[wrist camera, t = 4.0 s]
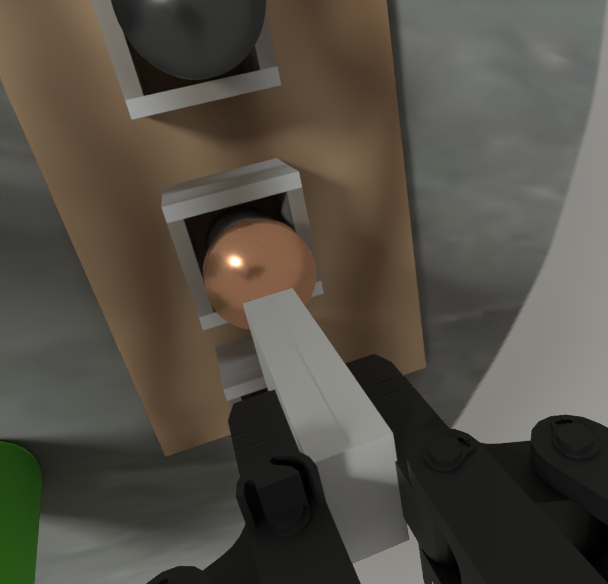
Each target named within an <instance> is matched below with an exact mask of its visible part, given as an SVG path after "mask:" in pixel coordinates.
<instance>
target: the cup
mask: <svg viewBox="0 0 608 584" xmlns="http://www.w3.org/2000/svg"><path fill="white" fill-rule="evenodd" d="M41 492H42V471H41V469H40V466H39V464H38V462H37V460H36V458H35V457H34V456H33V455H32V453H30V452H29V451H27V450H26V449H25V448H23V447H21V446H18V445H16V444H13V443H9V442H4V441H0V584H34V582H35V570H36V557H37V544H38V531H39V518H40V505H41Z"/></svg>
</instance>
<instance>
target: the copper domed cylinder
mask: <svg viewBox="0 0 608 584" xmlns="http://www.w3.org/2000/svg"><path fill="white" fill-rule="evenodd" d="M206 251H207V253H206V256H205V259H204V264H203V279H204V284H205V289H206V293H207V296H208V299H209V301H210V303H211V305H212V307H213V308H214V310H215V311H216V312H217V313H218V314H219V315H220V316H221V317H222V318H223V319H225V320H226V321H227V322H229V323H231V324H233V325H235V326H237V327H240V328H244V329H250V328H249V324H248V321H247V317H246V314H245V310H244V307H243V303H246V302H249V301H252V300H255V299H259V298H262V297H265V296H268V295H272V294H275V293H278V292H281V291H285V290H288V289H291V288H293V289H294V291H295V292H296V294H297V295H298V297H299V298H300V300H301V301H302V302H303V304H304V305H305V306H306V304H307V303H308V301H309V299H310V298H311V296H312V293H313V291H314V287H315V284H316V264H315V260H314V257H313V254H312V252H311V250H310V249H309V247H308V245H307V244H306V243H305V242H304V241H303V239H302V238H301V237H300V236H299V235H298V234H297V233H296V232H295V231H294V230H293V229H292V228H290V227H289V226H287V225H286V224H284V223H282V222H279V221H276V220H273V219H272V218H271V217H270V216H269V215H268V214H267V213H265V212H264V211H262V210H260V209H258V208H255V207H250V206H237V207H233V208H230V209H228V210H226V211H224V212H222V213H221V214H219V215H218V216H217V217H216V218H215V219H214V220H213V222H212V223H211V225H210V227H209V229H208V231H207V235H206Z"/></svg>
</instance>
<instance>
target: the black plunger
mask: <svg viewBox="0 0 608 584" xmlns="http://www.w3.org/2000/svg"><path fill="white" fill-rule="evenodd" d="M111 3H112V7H113V10H114V13H115V15H116V18H117V21H118V23H119V25H120V27H121V29H122V30H123V32H124V34H125V35H126V37H127V38H128V40H129V41H130V43H131V44H132V46H133V47H134V48H135V49H136V50H137V51H138V53H139V54H140V55H141V56H142V57H143V58H145V59H146V60H147V61H148V62H149V63H151V64H152V65H153V66H155V67H156V68H158V69H160V70H161V71H163V72H165V73H168V74H170V75H172V76H176V77H179V78H184V79H191V80H201V79H207V78H212V77H215V76H219V75H222V74H224V73H226V72H228V71H230V70H231V69H233V68H234V67H236V66H237V65H239V64H240V63H241V62H242V61H243V60H244V59H245V58H246V57H247V56H248V54H249V53H250V52H251V50H252V49H253V47H254V46H255V44H256V42H257V40H258V38H259V36H260V33H261V30H262V27H263V24H264V18H265V12H266V0H111Z"/></svg>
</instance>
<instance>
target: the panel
mask: <svg viewBox="0 0 608 584" xmlns="http://www.w3.org/2000/svg"><path fill="white" fill-rule="evenodd" d="M0 79H1V81H2V84H3V86H4V88H5V90H6V93H7V95H8V97H9V100H10V102H11V104H12V106H13V109H14V111H15V113H16V116H17V118H18V120H19V123H20V125H21V127H22V129H23V132H24V134H25V136H26V139H27V141H28V143H29V145H30V148H31V150H32V152H33V155H34V157H35V159H36V161H37V164H38V166H39V168H40V171H41V173H42V175H43V177H44V180H45V182H46V184H47V187H48V189H49V191H50V193H51V196H52V198H53V200H54V203H55V205H56V207H57V209H58V212H59V214H60V216H61V219H62V221H63V223H64V225H65V228H66V230H67V232H68V235H69V237H70V239H71V242H72V244H73V246H74V248H75V251H76V253H77V255H78V258H79V260H80V262H81V264H82V267H83V269H84V271H85V274H86V276H87V278H88V280H89V283H90V285H91V287H92V290H93V292H94V294H95V296H96V299H97V301H98V303H99V306H100V308H101V310H102V312H103V315H104V317H105V319H106V322H107V324H108V326H109V328H110V331H111V333H112V335H113V338H114V340H115V342H116V344H117V347H118V349H119V351H120V354H121V356H122V358H123V361H124V363H125V365H126V367H127V370H128V372H129V374H130V377H131V379H132V381H133V383H134V386H135V388H136V390H137V393H138V395H139V397H140V399H141V402H142V404H143V406H144V409H145V411H146V413H147V415H148V418H149V420H150V422H151V425H152V427H153V429H154V431H155V434H156V436H157V438H158V441H159V443H160V445H161V447H162V450H163V452H164V454H165V457H167V456H170V455H173V454H176V453H179V452H182V451H184V450H187V449H190V448H193V447H196V446H199V445H202V444H205V443H208V442H211V441H214V440H216V439H219V438H222V437H225V436H228V435H231V433H230V428H229V424H228V418H229V415H230V412H231V409H232V406H233V404H234V403H237V402H239V401H242V400H245V399H248V398H251V397H254V396H257V395H260V394H263V393H265V392H266V391H267V390H268V388H267V385H266V382H265V380H264V376H263V373H262V369H261V366H260V362H259V359H258V355H257V352H256V348H255V345H254V341H253V338H252V335H251V331H250V329H244V328H240V327H237V326H235V325H233V324H231V323H229V322H227V321H226V320H225V319H223V318H222V317H221V316H220V315H219V314H218V313H217V312H216V311H215V310H214V308H213V307H212V305H211V303H210V301H209V299H208V296H207V293H206V289H205V284H204V279H203V264H204V259H205V256H206V253H207V251H206V235H207V231H208V229H209V227H210V225H211V223H212V222H213V220H214V219H215V218H216V217H217V216H218V215H219V214H221V213H222V212H224V211H226V210H228V209H230V208H233V207H237V206H250V207H255V208H258V209H260V210H262V211H264V212H265V213H267V214H268V215H269V216H270V217H271V218H272V219H273V220H276V221H279V222H282V223H284V224H286V225H287V226H289V227H290V228H292V229H293V230H294V231H295V232H296V233H297V234H298V235H299V236H300V237H301V238H302V239H303V241H304V242H305V243H306V244H307V245H308V247H309V249H310V250H311V252H312V254H313V257H314V260H315V264H316V284H315V287H314V291H313V293H312V296H311V298H310V299H309V301H308V303H307V304H306V306H305V307H306V308H307V310H308V311H309V313H310V314H311V315H312V317H313V318H314V320H315V321H316V323H317V324H318V326H319V327H320V328H321V330H322V331H323V333H324V334H325V336H326V337H327V339H328V340H329V341H330V343H331V344H332V346H333V347H334V349H335V350H336V352H337V353H338V354H339V356H340V357H341V359H342V360H343V362H344V363H348V362H351V361H354V360H357V359H360V358H363V357H366V356H369V355H372V354H376V355H378V356H380V357H382V358H385V359H387V360H389V361H391V362H392V363H393V364H394V365H395V366H396V368H397V369H398V370H399V371H400V372H401V373H402V375H406V374H409V373H412V372H415V371H418V370H421V369H423V368H426V360H425V351H424V342H423V332H422V323H421V314H420V305H419V295H418V286H417V277H416V268H415V258H414V249H413V240H412V231H411V221H410V212H409V203H408V194H407V184H406V175H405V166H404V156H403V147H402V138H401V129H400V119H399V110H398V101H397V92H396V82H395V73H394V64H393V55H392V45H391V36H390V27H389V18H388V8H387V0H266V12H265V18H264V24H263V27H262V30H261V33H260V36H259V38H258V40H257V42H256V44H255V46H254V47H253V49H252V50H251V52H250V53H249V54H248V56H247V57H246V58H245V59H244V60H243V61H242V62H241V63H240V64H239V65H237V66H236V67H234V68H233V69H231V70H230V71H228V72H226V73H224V74H222V75H219V76H215V77H212V78H207V79H201V80H191V79H184V78H179V77H176V76H172V75H170V74H168V73H165V72H163V71H161V70H160V69H158V68H156V67H155V66H153V65H152V64H151V63H149V62H148V61H147V60H146V59H145V58H143V57H142V56H141V55H140V54H139V53H138V51H137V50H136V49H135V48H134V47H133V46H132V44H131V43H130V41H129V40H128V38H127V37H126V35H125V34H124V32H123V30H122V29H121V27H120V25H119V23H118V21H117V18H116V15H115V13H114V10H113V7H112V3H111V0H0Z"/></svg>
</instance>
